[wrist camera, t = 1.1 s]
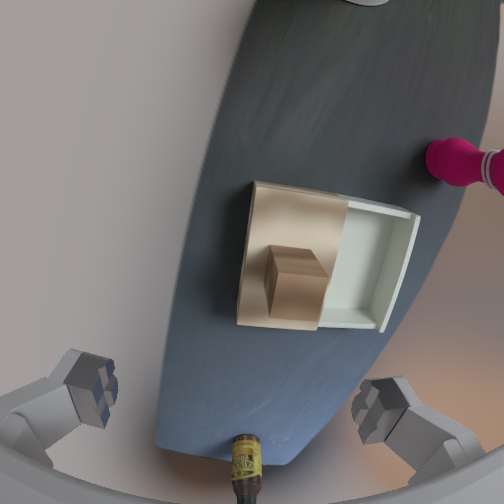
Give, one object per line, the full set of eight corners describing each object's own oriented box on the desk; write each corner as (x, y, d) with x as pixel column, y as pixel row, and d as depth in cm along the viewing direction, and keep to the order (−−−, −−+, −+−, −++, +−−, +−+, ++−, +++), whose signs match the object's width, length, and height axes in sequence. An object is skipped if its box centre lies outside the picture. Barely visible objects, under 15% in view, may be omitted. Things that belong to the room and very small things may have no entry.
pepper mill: (424, 184, 39) (520, 217, 20) (419, 137, 36) (520, 146, 17) (456, 179, 38) (548, 208, 20) (452, 135, 36) (548, 146, 17)
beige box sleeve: (254, 180, 38) (256, 186, 32) (333, 193, 39) (349, 201, 33) (237, 302, 44) (237, 324, 38) (307, 308, 45) (316, 330, 39)
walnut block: (269, 244, 35) (278, 272, 27) (310, 249, 35) (329, 277, 28) (263, 282, 36) (269, 318, 29) (302, 286, 37) (317, 321, 29)
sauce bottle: (251, 430, 55) (256, 508, 37) (264, 442, 58) (271, 514, 39) (226, 437, 56) (225, 513, 38) (240, 449, 58) (242, 519, 40)
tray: (333, 193, 39) (349, 201, 33) (399, 206, 40) (420, 216, 34) (307, 308, 45) (316, 330, 39) (369, 312, 46) (383, 332, 40)
